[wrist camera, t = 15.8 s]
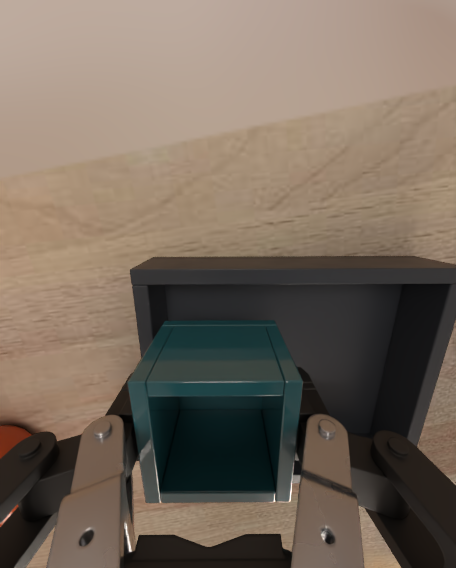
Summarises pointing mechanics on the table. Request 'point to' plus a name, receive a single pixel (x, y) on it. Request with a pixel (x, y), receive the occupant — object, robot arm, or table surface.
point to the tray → (324, 323)
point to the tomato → (11, 445)
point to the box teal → (216, 413)
